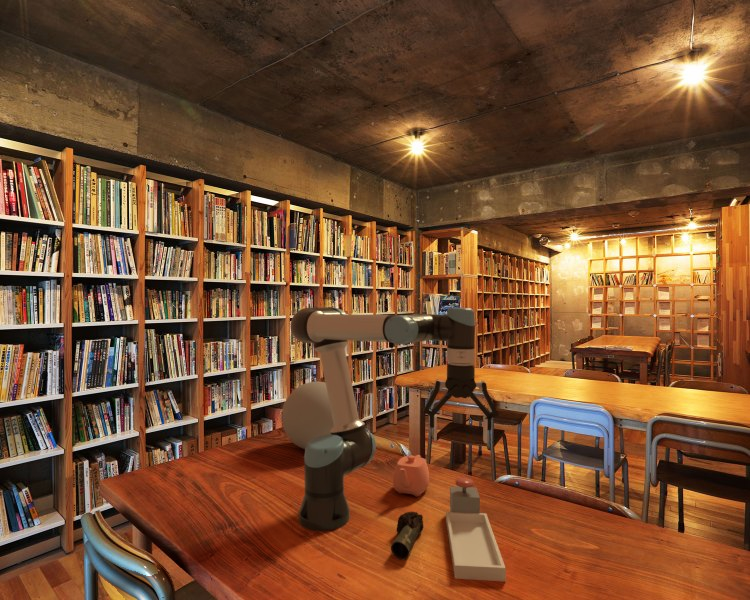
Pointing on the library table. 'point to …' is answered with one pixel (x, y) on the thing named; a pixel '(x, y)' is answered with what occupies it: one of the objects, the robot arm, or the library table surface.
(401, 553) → the metal pipe
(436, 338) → the robot arm
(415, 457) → the teapot
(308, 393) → the sphere
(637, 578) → the library table surface
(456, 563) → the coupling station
